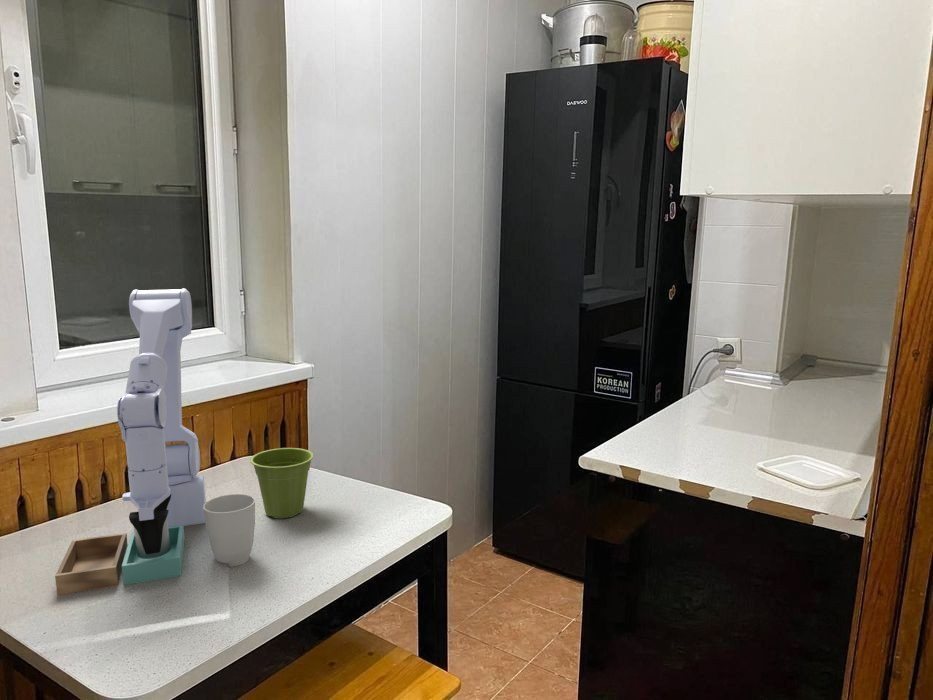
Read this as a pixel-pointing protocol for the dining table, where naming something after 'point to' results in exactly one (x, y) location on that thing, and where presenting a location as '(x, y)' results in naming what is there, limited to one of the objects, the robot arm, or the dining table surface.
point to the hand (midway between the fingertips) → (154, 545)
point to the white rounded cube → (164, 546)
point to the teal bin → (154, 560)
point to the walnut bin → (92, 564)
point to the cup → (231, 527)
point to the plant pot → (282, 479)
